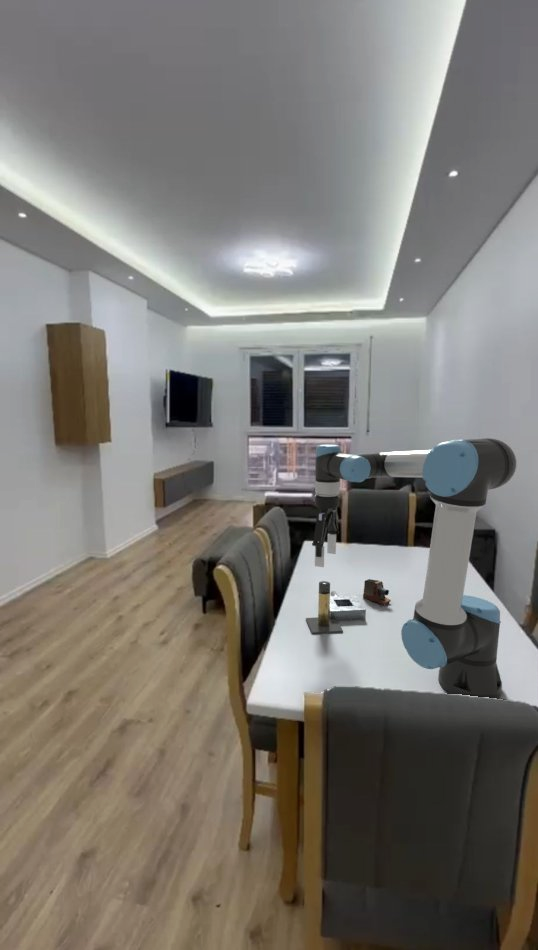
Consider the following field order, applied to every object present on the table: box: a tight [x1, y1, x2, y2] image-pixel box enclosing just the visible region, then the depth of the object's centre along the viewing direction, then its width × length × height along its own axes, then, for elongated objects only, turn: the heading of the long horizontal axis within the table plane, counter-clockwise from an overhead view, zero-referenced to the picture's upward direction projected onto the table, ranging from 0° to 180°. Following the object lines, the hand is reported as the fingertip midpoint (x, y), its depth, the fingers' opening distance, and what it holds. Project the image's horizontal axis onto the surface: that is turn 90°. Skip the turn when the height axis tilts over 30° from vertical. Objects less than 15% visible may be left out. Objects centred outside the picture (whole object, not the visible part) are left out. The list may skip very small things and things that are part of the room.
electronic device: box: [362, 578, 392, 606], centre depth 174 cm, size 4×10×8 cm, turn 42°
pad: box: [305, 616, 344, 635], centre depth 155 cm, size 10×10×1 cm
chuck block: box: [329, 590, 367, 622], centre depth 168 cm, size 20×12×4 cm, turn 7°
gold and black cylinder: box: [317, 580, 331, 627], centre depth 154 cm, size 4×4×14 cm
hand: (325, 559), depth 151 cm, fingers open, 13 cm apart
